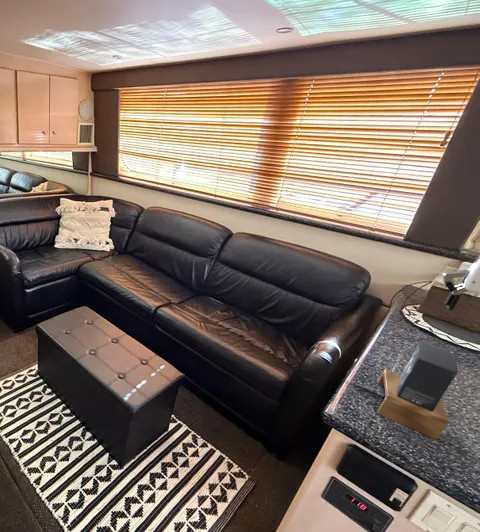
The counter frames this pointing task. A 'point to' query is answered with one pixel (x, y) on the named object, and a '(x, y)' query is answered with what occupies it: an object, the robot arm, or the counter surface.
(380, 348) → the counter surface
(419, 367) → the small box
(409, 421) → the tan bracket
